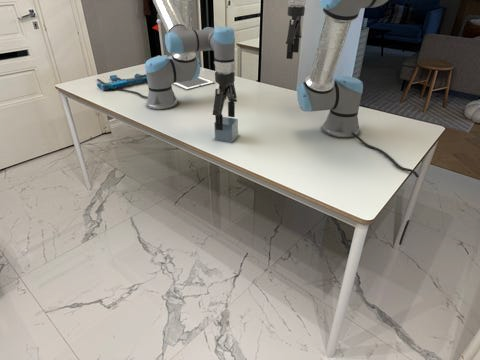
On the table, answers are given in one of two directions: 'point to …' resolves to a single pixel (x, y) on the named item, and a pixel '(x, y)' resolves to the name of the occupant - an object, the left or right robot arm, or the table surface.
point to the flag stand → (158, 27)
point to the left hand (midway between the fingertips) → (225, 122)
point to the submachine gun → (122, 82)
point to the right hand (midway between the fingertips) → (292, 55)
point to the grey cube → (227, 130)
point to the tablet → (193, 83)
